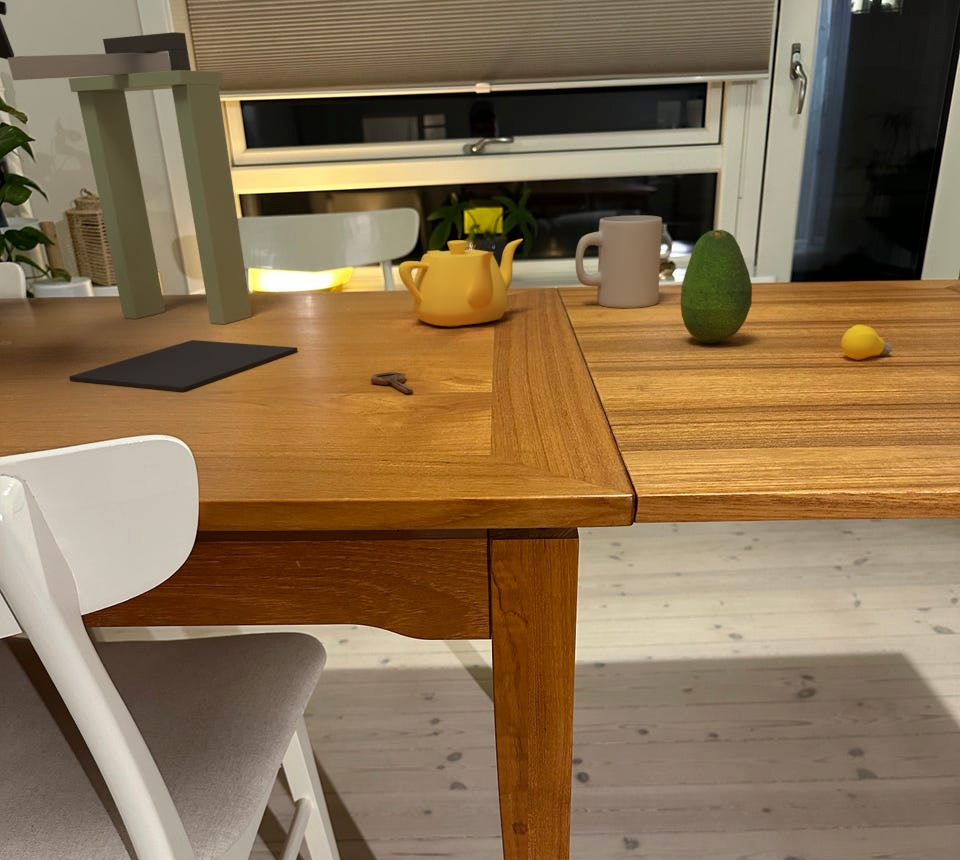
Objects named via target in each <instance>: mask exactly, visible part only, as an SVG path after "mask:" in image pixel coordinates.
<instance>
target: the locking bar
mask: <svg viewBox="0 0 960 860" xmlns="http://www.w3.org/2000/svg"><path fill="white" fill-rule="evenodd" d="M7 59H8V60H7ZM7 59H6V60H7V61H8V67H9V69H10V74H11V77H12V80H13V81H25V80H42V79H43V80H45V79H60V78H61V79H63V78H64V79H65V78H81V77H95V76H108V75H122V74H135V73H149V72H162V71H171V65H170V59H169V53H168V52H154V53H118V54H106V53H87V54H56V55H55V54H54V55H53V54H51V55H50V54H49V55H19V56H14V57H8V58H7Z"/></svg>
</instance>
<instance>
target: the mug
mask: <svg viewBox="0 0 960 860" xmlns="http://www.w3.org/2000/svg"><path fill="white" fill-rule="evenodd" d="M662 228H663V218H662V217H660V216H656V215H618V216H607V217H602V218H600V219H599V225H598V231H594V232H591V233H587V234H585V235H583V236H581V238H580V239H579V241H578V243H577V246H576V251H575V262H574V263H575V272H576V273H575V274H576V276H577V280H578V281H579V282H580V284H582V285H583V286H586V287H591V288H592V287H595V288H596V287H597V304H598V305H599V306H602V307H605V308H613V309H638V308H639V309H640V308H648V307H652V306H655V305H657V304H658V302H659V298H660V297H659V296H660V271H661V270H660V269H661V251H662V233H663V232H662V230H663V229H662ZM589 246H597V247H598V262H597V265H598V266H597V272H596V273H593V274H587V272H586V271H585V268H584V254H585V251H586V249H587V247H589Z"/></svg>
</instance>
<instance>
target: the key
mask: <svg viewBox="0 0 960 860" xmlns="http://www.w3.org/2000/svg"><path fill="white" fill-rule="evenodd" d="M406 376H407V375H406V373H403V372H395V371H389V372H388V371H387V372H381V373H374V374H373V375H372V377H370V383H371V384H375V385H376V384H377V385H384V386H386V385H390V386H392V387H393V388H395V389H397V390H399V391H401V392H402V393H404V394H409V393H411V394H413V392H414V391H413V389H414V388H412V387H409V386H407V384H406V383H405V384H403V383H404V382H405V380H406V378H407V377H406Z"/></svg>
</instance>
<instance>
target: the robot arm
mask: <svg viewBox="0 0 960 860" xmlns="http://www.w3.org/2000/svg"><path fill="white" fill-rule="evenodd" d="M7 7H8V6H7V3H6V2H5V1H1V0H0V15H1V16H6V15H7V9H8V8H7ZM8 57H15V53H14V49H13V48H12V45H11V42H10V40H9V36H8V34H7V31H6V29H5V27H4V24H3V21H2V19H1V17H0V58H1V59H4V60H7V61H8V59H7V58H8Z"/></svg>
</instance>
